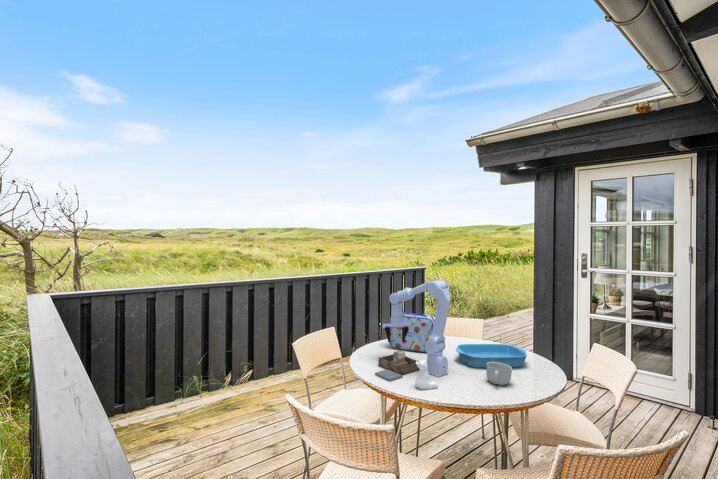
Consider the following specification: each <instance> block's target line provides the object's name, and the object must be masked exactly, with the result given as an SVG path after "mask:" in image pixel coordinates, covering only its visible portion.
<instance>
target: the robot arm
mask: <svg viewBox="0 0 718 479" xmlns="http://www.w3.org/2000/svg"><path fill="white" fill-rule="evenodd" d="M424 292H426V293H429V294H430V296H432V297H433V298H434V299H435V300H436V301H437V302H438V303H437V307H436V311H435V317H434V325H433V330H432V334H431V335H430V336H429V338H428V341H427V342H426V344H425V350H426V352H425V353H426V356H427V358H426V359H427V361H426V363H427V365H428V369H427V370H428V373H429V375H432V376H435V377H437V378H440V377H442V376H445V375H449V370H448V366H449V360H448V358H447V357H446V356H445V355H444V351H445V349H446V337H445V335H444V334H445V329H446V324H447V319H448V315H449V312H450V311H449V310H450V306H451V301H452V300H451V295H450V286H449V285H448V283H447V281H445V280H443V279H440V280H437V281H436V280H434V281H433V280H432V281H429V282H424V283H421V284H420V285H417V286H415V287H413V288H411V287H404V289H402V290H398V291H397V292H392V293H391V294H390V295H389V298H388V300H389V302H390V304H391V306H390V307H391V310H390V311H391V314H390V315H391V316H390V317H391V323H389V322H388V323H382V329H384V331H385V333H386V337H387V342H388V343H389V342H390V332H391V330H390V328H402V341H403V342H404V341H405V337H406V335H407V333H408V331H409V329H408V328H410V324H407V323H402V312H403V306H404V302H406V301H407V302H408V301H409V300H413V299H414V298H415V296H416V295H417V294H420V293H424Z"/></svg>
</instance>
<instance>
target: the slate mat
mask: <svg viewBox="0 0 718 479" xmlns="http://www.w3.org/2000/svg"><path fill="white" fill-rule="evenodd" d="M374 376H376V377H379V378H381V379H383V380H385V381H387V382H390V383H391V382H393V381H397V380H400V379H403V375H400V374H397V373H395V372H393V371H390V370H388V369H383V370H380V371H376V372H374Z"/></svg>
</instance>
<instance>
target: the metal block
mask: <svg viewBox="0 0 718 479" xmlns="http://www.w3.org/2000/svg"><path fill="white" fill-rule="evenodd" d="M393 354H394V362H396V363H398V364H400V363H404V362H405V356H406V351H404V350H402V349H397V350H395V351H393Z"/></svg>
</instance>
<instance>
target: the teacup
mask: <svg viewBox="0 0 718 479" xmlns="http://www.w3.org/2000/svg"><path fill="white" fill-rule="evenodd" d="M485 369H486V370H485V372H486V373H485V374H486V378H487V379H488V380H489V382H490V383H491V384H494V385H496V384H498V385H497V386H505V384H506V385H507V384H509V383H510V382H511V379H512V374H513V373H512V371H513V368H512V367H511V366H509V365H507V364H503V363H499V362H488V363H487V368H485Z"/></svg>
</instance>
